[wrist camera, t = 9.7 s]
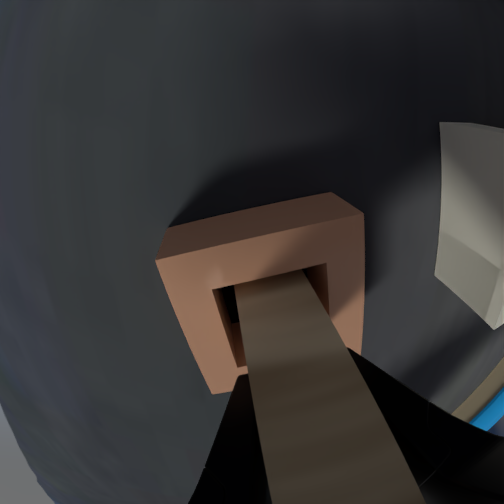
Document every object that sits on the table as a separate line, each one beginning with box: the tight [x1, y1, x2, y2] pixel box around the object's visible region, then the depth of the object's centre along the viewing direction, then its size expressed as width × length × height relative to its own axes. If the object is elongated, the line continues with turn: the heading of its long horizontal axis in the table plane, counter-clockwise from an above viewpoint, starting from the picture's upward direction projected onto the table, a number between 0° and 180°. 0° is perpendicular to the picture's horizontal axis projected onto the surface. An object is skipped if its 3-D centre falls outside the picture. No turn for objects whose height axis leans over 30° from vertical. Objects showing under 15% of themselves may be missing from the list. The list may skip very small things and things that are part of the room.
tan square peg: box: [234, 269, 426, 504], centre depth 8 cm, size 3×3×12 cm
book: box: [451, 357, 504, 431], centre depth 26 cm, size 17×4×25 cm
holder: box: [155, 192, 365, 394], centre depth 12 cm, size 7×7×3 cm
